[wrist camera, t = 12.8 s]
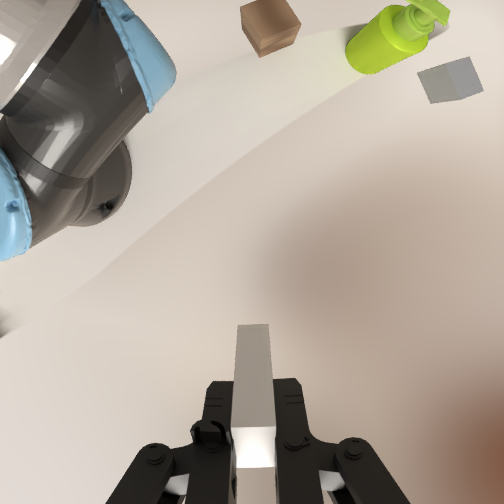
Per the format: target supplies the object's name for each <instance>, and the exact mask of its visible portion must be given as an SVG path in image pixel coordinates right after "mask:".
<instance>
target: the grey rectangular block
mask: <svg viewBox="0 0 504 504" xmlns="http://www.w3.org/2000/svg"><path fill="white" fill-rule="evenodd" d="M417 74H418V77H419V79H420V81H421V83H422V85H423V87H424V89H425V92H426V94H427V96H428V99H429V101H430V103H431V104H432V103H439V102H447V101H455V100H461V99H464V98H466V97H469V96H472V95H474V94H477V93H480V92H482V91H483V88H482V85H481V83H480V80H479V78H478V75H477V73H476V71H475V68H474V66H473V64H472V61H471V59H470V57H466V58H463V59H459V60H456V61H453V62H449V63H446V64H442V65H439V66H436V67H433V68H430V69H427V70H424V71H421V72H419V73H417Z"/></svg>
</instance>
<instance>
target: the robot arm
mask: <svg viewBox="0 0 504 504" xmlns="http://www.w3.org/2000/svg"><path fill="white" fill-rule="evenodd" d="M175 78H176V68H175V65H174V63H173V61H172V59H171V58H170V56H169V55H168V53H167V52H166V50H165V49H164V47H163V46H162V45H161V43H160V42H159V41H158V39H157V38H156V37H155V36H154V34H153V33H152V32H151V31H150V29H149V28H148V27H147V26H146V25H145V24H144V22H143V21H142V20H141V19H140V18H139V17H138V16H136V15H135V14H134V12H133V11H132V10H131V9H130V8H129V7H128V5H127V4H126V3H125V2H124V1H123V0H0V113H2V114H4V115H3V117H2V119H1V120H0V261H5V260H8V259H10V258H12V257H15V256H17V255H21V254H24V253H25V252H26V251H27V250H28V249H29V248H31V247H32V246H34V245H36V244H37V243H39V242H41V241H42V240H44V239H46V238H48V237H49V236H51V235H53V234H54V233H56V232H58V231H60V230H61V229H63V228H65V227H67V226H79V227H86V226H92V225H95V224H98V223H100V222H102V221H104V220H105V219H107V218H109V217H110V216H112V215H113V214H114V213H115V212H116V211H117V210H118V209H119V208H120V207H121V205H122V204H123V202H124V201H125V199H126V196H127V194H128V191H129V188H130V184H131V176H132V169H131V161H130V157H129V153H128V150H127V148H126V146H125V144H124V142H123V141H122V140H123V138H124V137H125V136H126V135H127V134H128V133H129V132H130V131H131V129H132V128H133V127H134V126H135V125H136V124H137V123H138V122H139V121H140V120H141V119H142V118H143V116H144V115H145V114H146V113H148V114H150V113H151V112H152V110H153V108H154V105H155V104H156V103H157V102H158V101H159V100H160V99H161V98H162V97H163V96H164V95H165V94H166V92H167V91H168V90H169V89H170V88H171V87H172V86H173V84H174V82H175ZM190 432H191V436H192V439H193V443H191V444H189V445H187V446H184V447H179V448H173V449H170V448H169V447H168V446H166V445H164V444H159V443H152V444H148V445H146V446H144V447H143V448H142V449H141V450H140V451H139V452H138V454H137V455H136V457H135V459H134V460H133V462H132V463H131V465H130V466H129V468H128V469H127V471H126V472H125V474H124V476H123V477H122V479H121V480H120V482H119V483H118V485H117V487H116V488H115V490H114V491H113V493H112V494H111V496H110V497H109V499H108V501H107V502H106V504H182V502H183V500H184V498H185V496H186V499H185V504H236V498H237V497H236V496H237V476H236V465H237V468H239V467H240V468H249V467H275V487H276V502H277V504H324V501H323V495H322V490H327V492H328V494H329V496H330V498H331V500H332V502H333V504H410V502H409V501H408V499H407V498H406V496H405V495H404V493H403V492H402V491H401V489H400V488H399V486H398V485H397V483H396V482H395V480H394V479H393V478H392V476H391V474H390V473H389V472H388V470H387V469H386V467H385V466H384V464H383V463H382V461H381V460H380V458H379V457H378V455H377V454H376V452H375V451H374V449H373V448H372V447H371V445H370V444H369V443H368V442H367V441H366V440H363V439H361V438H354V437H352V438H346V439H344V440H343V441H341V442H340V443H339V444H334V443H326V442H322V441H320V440H318V439H316V438H315V437H314V436H313V435H312V434H311V433H310V431H309V426H308V421H307V415H306V409H305V404H304V398H303V392H302V387H301V384H300V383H299V382H298V381H297V380H296V378H286V379H273V378H272V365H271V352H270V339H269V327H268V324H256V325H238V330H237V344H236V358H235V371H234V381H213V382H212V383H211V384H210V386H209V387H208V388H207V392H206V397H205V403H204V410H203V416H202V420H200V421H197V422H196V423H195V424H194V425H193V426H192V428H191V430H190Z"/></svg>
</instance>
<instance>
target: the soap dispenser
mask: <svg viewBox="0 0 504 504" xmlns="http://www.w3.org/2000/svg"><path fill="white" fill-rule="evenodd" d="M406 1H408V2H409V3H411V5H408V6H406V7H404V6H400V5H390V6H388V7H386V8H384V10H382V11H381V12H380V13H379V14H378V15H377V16H376V17H375V18H373V19H372V20H371V21H370V22H369V23H368V24H367V25H366V26H365V27H364V28H363V29H362V30H361V31H360V32H359V33H358V34H356V35H355V36H354V37H353V38H352V39H351V40H350V41H349V42H348V44H347V46H346V51H345V52H346V58H347V60H348V62H349V64H350V65H351V66H352V67H353V68H354V69H355V70H357V71H358V72H361V73H363V74H375V73H377V72H379V71H381V70H383V69H385V68H387V67H389V66H391V65H393V64H395V63H397V62H400V61H402V60H404V59H406V58H408V57H410V56H412V55H414V54H417V53H419V52H421V51H422V50H424V49H425V47H426V46H427V44H428V39H429V36H428V34H430V33H431V32H432V31H433V29H434V21H435V20H436V21H438V22H439V23H440V24H442V25H443V26H445V25H447V22H448V18H449V14H450V10H449V9H448V8H446V7H445V6H444V5H443V4H441V3H440V2H439V1H437V0H406Z"/></svg>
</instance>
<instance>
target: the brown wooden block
mask: <svg viewBox="0 0 504 504" xmlns="http://www.w3.org/2000/svg"><path fill="white" fill-rule="evenodd" d="M240 12H241V22H242V30H243V31H244V33H245V35H246V36H247V38H248V39H249V41H250V43H251V44H252V46H253V48H254V49H255V51H256V53H257V54H258V56H259V58H261V57H263V56H265V55H268V54H270V53H272V52H275V51H277V50H279V49H282V48H284V47H287V46H289V45H292V44H293V43H294V40H295V38H296V35H297V33H298V31H299V29H300V26H301V23H300V21H299V20H298V18H297V16H296V15H295V14H294V12H293V11H292V9H291V7H290V6H289V4H288V3H287V2H286V0H257V1H254V2H251V3H249V4H246V5H244V6H241V7H240Z"/></svg>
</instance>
